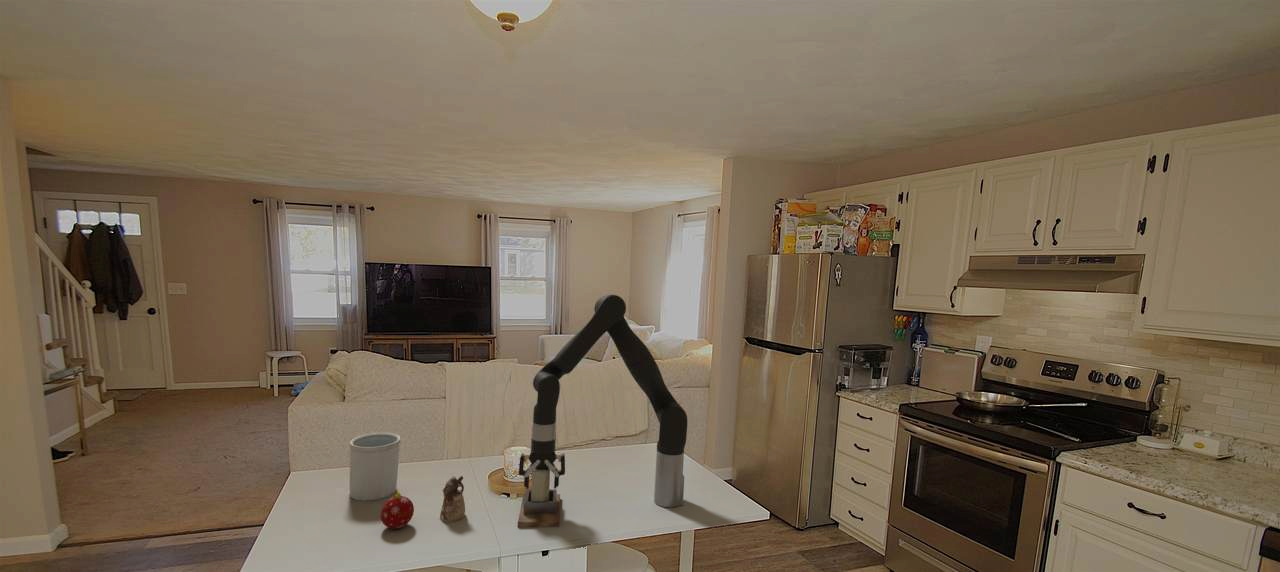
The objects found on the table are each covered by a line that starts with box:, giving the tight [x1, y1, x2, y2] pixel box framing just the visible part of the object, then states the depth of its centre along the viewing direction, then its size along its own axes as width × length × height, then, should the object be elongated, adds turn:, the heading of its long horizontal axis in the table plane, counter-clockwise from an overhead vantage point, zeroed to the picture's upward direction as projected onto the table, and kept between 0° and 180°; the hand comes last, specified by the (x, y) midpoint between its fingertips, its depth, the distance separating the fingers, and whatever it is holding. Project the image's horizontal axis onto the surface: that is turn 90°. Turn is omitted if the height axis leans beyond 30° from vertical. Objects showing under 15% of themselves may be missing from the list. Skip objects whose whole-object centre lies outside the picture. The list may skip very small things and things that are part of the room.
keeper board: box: [517, 493, 561, 528], centre depth 158 cm, size 12×19×2 cm, turn 8°
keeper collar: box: [523, 489, 558, 515], centre depth 158 cm, size 10×10×4 cm
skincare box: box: [530, 468, 551, 502], centre depth 158 cm, size 6×4×12 cm
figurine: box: [439, 475, 466, 523], centre depth 152 cm, size 7×7×12 cm
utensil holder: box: [349, 432, 402, 502], centre depth 166 cm, size 15×15×18 cm
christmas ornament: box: [380, 491, 415, 530], centre depth 145 cm, size 9×9×10 cm
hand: (541, 487), depth 158 cm, fingers open, 8 cm apart
